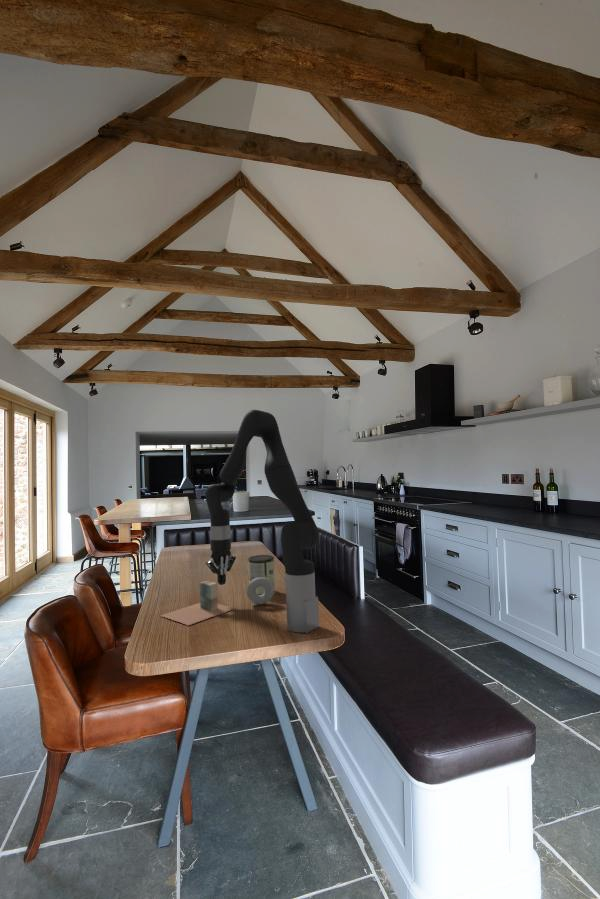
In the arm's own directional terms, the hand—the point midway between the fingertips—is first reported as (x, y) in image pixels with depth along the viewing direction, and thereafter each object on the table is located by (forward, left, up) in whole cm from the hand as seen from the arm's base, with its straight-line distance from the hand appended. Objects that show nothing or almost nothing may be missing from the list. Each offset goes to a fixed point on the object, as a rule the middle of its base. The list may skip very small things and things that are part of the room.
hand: (221, 584), depth 164 cm
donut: (-12, -8, -8) cm, 16 cm away
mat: (0, +11, -8) cm, 13 cm away
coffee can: (-2, -19, -8) cm, 20 cm away
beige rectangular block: (0, +6, -7) cm, 9 cm away
